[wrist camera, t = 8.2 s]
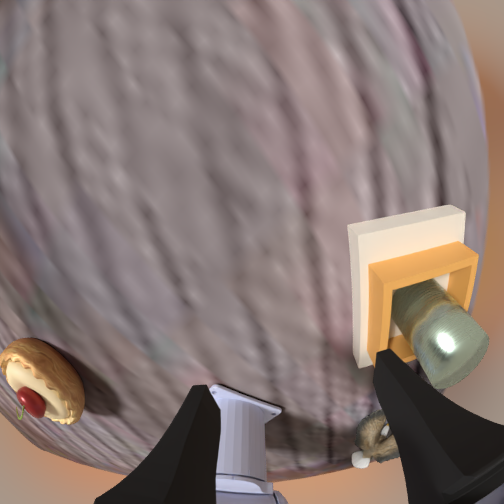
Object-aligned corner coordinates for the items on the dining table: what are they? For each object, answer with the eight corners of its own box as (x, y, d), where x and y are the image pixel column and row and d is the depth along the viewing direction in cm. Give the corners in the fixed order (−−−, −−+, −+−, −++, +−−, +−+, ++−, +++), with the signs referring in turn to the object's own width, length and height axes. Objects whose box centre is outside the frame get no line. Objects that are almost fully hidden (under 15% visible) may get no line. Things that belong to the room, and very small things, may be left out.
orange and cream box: (435, 325, 21) (458, 355, 17) (352, 352, 22) (367, 390, 18) (449, 204, 17) (487, 223, 13) (347, 224, 17) (373, 252, 13)
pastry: (109, 386, 25) (87, 448, 17) (69, 402, 28) (49, 450, 20) (32, 313, 21) (-11, 369, 13) (7, 345, 24) (-23, 389, 15)
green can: (408, 331, 19) (446, 394, 12) (378, 309, 18) (419, 380, 11) (445, 291, 17) (495, 346, 11) (419, 263, 16) (478, 321, 10)
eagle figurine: (402, 434, 29) (422, 414, 24) (386, 476, 24) (406, 466, 19) (357, 424, 33) (367, 402, 28) (339, 464, 28) (346, 452, 23)
